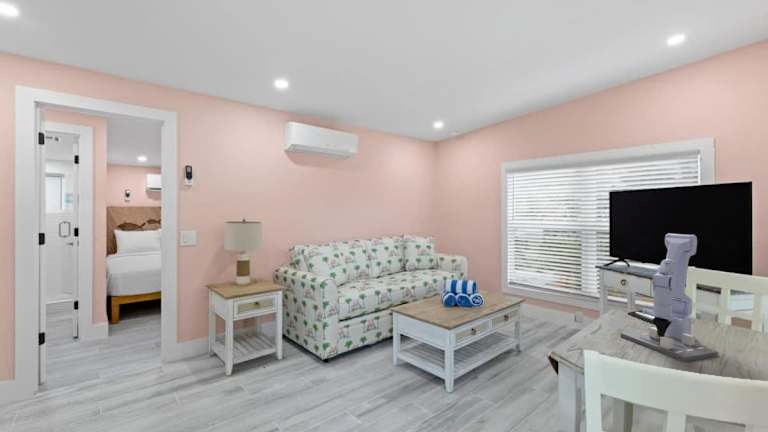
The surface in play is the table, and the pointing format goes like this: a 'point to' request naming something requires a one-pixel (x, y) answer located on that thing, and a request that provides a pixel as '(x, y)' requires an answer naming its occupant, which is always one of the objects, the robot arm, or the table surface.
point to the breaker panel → (670, 352)
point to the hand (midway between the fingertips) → (661, 336)
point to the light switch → (642, 316)
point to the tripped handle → (653, 332)
